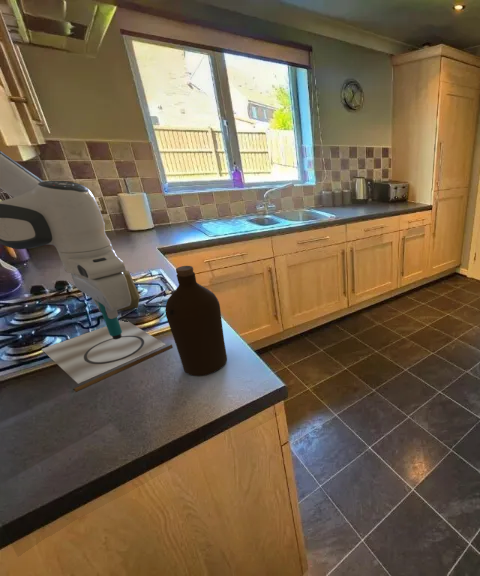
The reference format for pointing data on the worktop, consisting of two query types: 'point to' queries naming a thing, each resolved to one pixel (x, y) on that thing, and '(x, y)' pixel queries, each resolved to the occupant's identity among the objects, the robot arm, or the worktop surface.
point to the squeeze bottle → (131, 292)
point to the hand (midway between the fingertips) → (109, 314)
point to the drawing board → (103, 352)
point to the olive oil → (196, 325)
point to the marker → (111, 324)
